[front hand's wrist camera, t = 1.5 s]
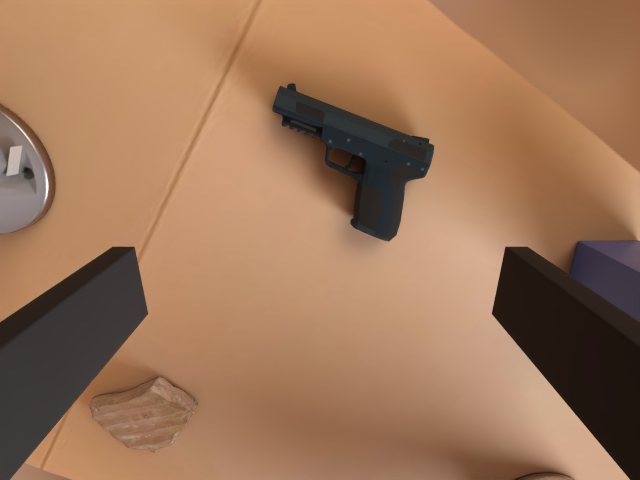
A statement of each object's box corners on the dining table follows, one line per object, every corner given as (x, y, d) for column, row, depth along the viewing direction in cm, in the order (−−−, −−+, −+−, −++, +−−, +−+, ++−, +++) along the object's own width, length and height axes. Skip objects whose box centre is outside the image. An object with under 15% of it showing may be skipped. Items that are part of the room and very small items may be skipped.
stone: (147, 447, 55) (139, 462, 53) (92, 397, 52) (81, 411, 49) (212, 413, 53) (206, 428, 50) (159, 359, 49) (151, 371, 47)
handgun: (252, 186, 41) (284, 80, 37) (390, 235, 42) (434, 139, 38) (246, 192, 38) (280, 77, 34) (395, 245, 39) (444, 141, 35)
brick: (618, 299, 46) (704, 354, 36) (562, 300, 46) (631, 355, 36) (638, 240, 43) (738, 281, 33) (578, 240, 43) (658, 282, 33)
